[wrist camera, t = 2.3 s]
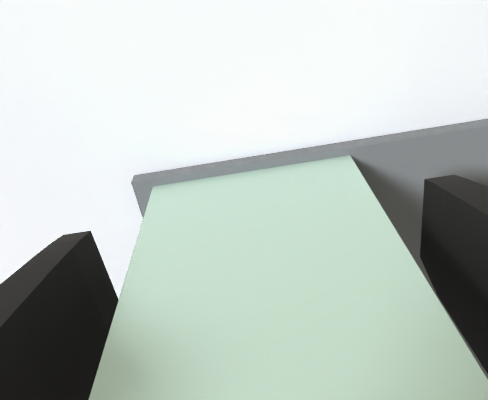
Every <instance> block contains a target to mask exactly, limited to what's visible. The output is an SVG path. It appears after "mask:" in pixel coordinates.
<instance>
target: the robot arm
mask: <svg viewBox="0 0 488 400" xmlns="http://www.w3.org/2000/svg"><path fill="white" fill-rule="evenodd" d="M420 258H421V260H422V263H423V265H424V267H425V269H426V272H427V274H428V276H429V278H430V281H431V283H432V285H433V287H434V289H435V291H436V293H437V295H438V297H439V299H440V300H441V302H442V304H443V305H444V307H445V308H446V310H447V312H448V313H449V315H450V316H451V318H452V319H453V321H454V323H455V324H456V326H457V327H458V329H459V330H460V332H461V334H462V335H463V337H464V338H465V340H466V341H467V343H468V344H469V346H470V348H471V349H472V351H473V352H474V354H475V355H476V357H477V358H478V360H479V362H480V363H481V365H482V366H483V368H484V369H485V371H486V372H487V374H488V187H487V186H485V185H482V184H480V183H477V182H474V181H472V180H469V179H466V178H463V177H460V176H457V175H448V176H441V177H435V178H429V179H424V195H423V212H422V229H421V246H420ZM118 301H119V300H118V298H117V295H116V293H115V290H114V288H113V285H112V283H111V280H110V278H109V275H108V273H107V270H106V268H105V265H104V263H103V260H102V258H101V256H100V253H99V251H98V248H97V246H96V243H95V241H94V238H93V236H92V233H91V231H87V232H80V233H74V234H67V235H63V236H61V237H60V238H58V239H57V240H55V241H54V242H52V243H51V244H50V245H48V246H47V247H46V248H45V249H43V250H42V251H41V252H39V253H38V254H37V255H36V256H34V257H33V258H32V259H31V260H30V261H28V262H27V263H26V264H25V265H23V266H22V267H21V268H20V269H19V270H17V271H16V272H15V273H14V274H13V275H11V276H10V277H9V278H8V279H6V280H5V281H4V282H3V283H2V284H0V400H89V397H90V393H91V390H92V387H93V383H94V380H95V377H96V373H97V370H98V367H99V363H100V360H101V357H102V354H103V350H104V347H105V344H106V340H107V337H108V334H109V330H110V327H111V324H112V320H113V317H114V314H115V310H116V307H117V304H118Z"/></svg>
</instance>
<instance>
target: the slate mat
mask: <svg viewBox="0 0 488 400" xmlns="http://www.w3.org/2000/svg"><path fill="white" fill-rule="evenodd" d="M348 155H350V156H351V158H352V159H353V161H354V162H355V164H356V166H357V167H358V169H359V171H360V172H361V174H362V176H363V177H364V179H365V180H366V182H367V184H368V185H369V187H370V189H371V190H372V192H373V193H374V195H375V197H376V198H377V200H378V202H379V203H380V205H381V207H382V208H383V210H384V211H385V213H386V215H387V216H388V218H389V220H390V221H391V223H392V224H393V226H394V228H395V229H396V231H397V233H398V234H399V236H400V237H401V239H402V241H403V242H404V244H405V246H406V247H407V249H408V251H409V252H410V254H411V255H412V257H413V259H414V260H415V262H416V264H417V265H418V267H419V268H420V270H421V272H422V273H423V275H424V277H425V278H426V280H427V282H428V283H429V285H430V286H431V288H432V290H433V291H434V293H435V295H436V296H437V298H438V299H439V297H438V295H437V293H436V291H435V289H434V287H433V285H432V283H431V281H430V278H429V276H428V274H427V272H426V269H425V267H424V265H423V263H422V260H421V258H420V246H421V229H422V212H423V195H424V179H429V178H435V177H441V176H448V175H457V176H460V177H463V178H466V179H469V180H472V181H474V182H477V183H480V184H482V185H485V186H487V187H488V119H484V120H478V121H471V122H465V123H459V124H453V125H446V126H440V127H434V128H428V129H422V130H415V131H409V132H403V133H397V134H390V135H384V136H378V137H372V138H365V139H359V140H353V141H347V142H340V143H334V144H328V145H322V146H316V147H309V148H303V149H297V150H291V151H284V152H278V153H272V154H266V155H259V156H253V157H247V158H241V159H234V160H228V161H222V162H216V163H209V164H203V165H197V166H191V167H185V168H178V169H172V170H166V171H160V172H153V173H147V174H141V175H135V176H134V177H133V180H132V182H131V183H132V186H133V189H134V192H135V195H136V198H137V201H138V205H139V208H140V211H141V214H142V217H143V218H144V214H145V211H146V208H147V205H148V201H149V198H150V195H151V191H152V188H153V186H159V185H166V184H172V183H178V182H185V181H191V180H197V179H203V178H210V177H216V176H222V175H229V174H235V173H241V172H248V171H254V170H260V169H266V168H273V167H279V166H285V165H292V164H298V163H304V162H310V161H317V160H323V159H329V158H336V157H342V156H348ZM439 301H440V303H441V304H442V302H441V300H440V299H439ZM442 306H443V308H444V309H445V311H446V312H447V310H446V308H445V307H444V305H443V304H442ZM447 314H448V316H449V317H450V319H451V321H452V322H453V324H454V326H455V327H456V329H457V330H458V332H459V334H460V335H461V337H462V339H463V340H464V342H465V343H466V345H467V347H468V348H469V350H470V352H471V353H472V355H473V357H474V358H475V360H476V361H477V363H478V365H479V366H480V368H481V370H482V371H483V373H484V374H485V376H486V378H487V379H488V374H487V372H486V371H485V369H484V368H483V366H482V365H481V363H480V362H479V360H478V358H477V357H476V355H475V354H474V352H473V351H472V349H471V348H470V346H469V344H468V343H467V341H466V340H465V338H464V337H463V335H462V334H461V332H460V330H459V329H458V327H457V326H456V324H455V323H454V321H453V319H452V318H451V316H450V315H449V313H448V312H447Z"/></svg>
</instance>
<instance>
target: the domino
mask: <svg viewBox="0 0 488 400" xmlns="http://www.w3.org/2000/svg"><path fill="white" fill-rule="evenodd" d="M89 400H488V379H487V378H486V376H485V374H484V373H483V371H482V370H481V368H480V366H479V365H478V363H477V361H476V360H475V358H474V357H473V355H472V353H471V352H470V350H469V348H468V347H467V345H466V343H465V342H464V340H463V339H462V337H461V335H460V334H459V332H458V330H457V329H456V327H455V326H454V324H453V322H452V321H451V319H450V317H449V316H448V314H447V312H446V311H445V309H444V308H443V306H442V304H441V303H440V301H439V299H438V298H437V296H436V295H435V293H434V291H433V290H432V288H431V286H430V285H429V283H428V282H427V280H426V278H425V277H424V275H423V273H422V272H421V270H420V268H419V267H418V265H417V264H416V262H415V260H414V259H413V257H412V255H411V254H410V252H409V251H408V249H407V247H406V246H405V244H404V242H403V241H402V239H401V237H400V236H399V234H398V233H397V231H396V229H395V228H394V226H393V224H392V223H391V221H390V220H389V218H388V216H387V215H386V213H385V211H384V210H383V208H382V207H381V205H380V203H379V202H378V200H377V198H376V197H375V195H374V193H373V192H372V190H371V189H370V187H369V185H368V184H367V182H366V180H365V179H364V177H363V176H362V174H361V172H360V171H359V169H358V167H357V166H356V164H355V162H354V161H353V159H352V158H351V156H350V155H348V156H342V157H336V158H329V159H323V160H317V161H310V162H304V163H298V164H292V165H285V166H279V167H273V168H266V169H260V170H254V171H248V172H241V173H235V174H229V175H222V176H216V177H210V178H203V179H197V180H191V181H185V182H178V183H172V184H166V185H159V186H153V188H152V191H151V195H150V198H149V201H148V205H147V208H146V211H145V214H144V218H143V221H142V224H141V228H140V231H139V234H138V238H137V241H136V244H135V248H134V251H133V254H132V257H131V261H130V264H129V267H128V271H127V274H126V277H125V281H124V284H123V287H122V291H121V294H120V297H119V301H118V304H117V307H116V310H115V314H114V317H113V320H112V324H111V327H110V330H109V334H108V337H107V340H106V344H105V347H104V350H103V354H102V357H101V360H100V363H99V367H98V370H97V373H96V377H95V380H94V383H93V387H92V390H91V393H90V397H89Z"/></svg>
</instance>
